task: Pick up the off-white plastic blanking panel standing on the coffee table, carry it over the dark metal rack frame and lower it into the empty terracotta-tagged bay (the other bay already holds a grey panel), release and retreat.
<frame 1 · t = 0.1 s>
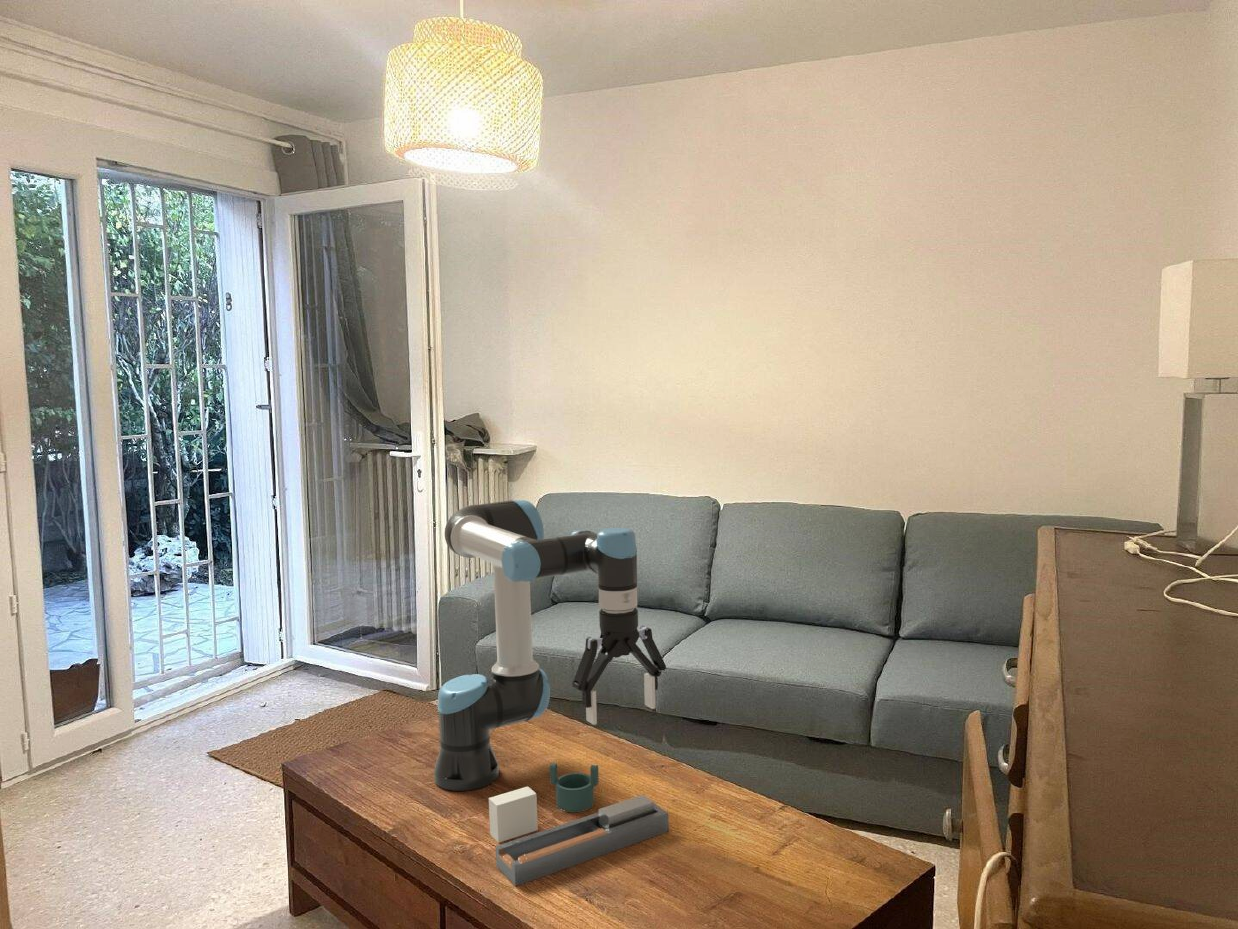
hand: (621, 714, 176), 28 cm above the table, fingers open, 13 cm apart
teal cylindrical holder: (575, 803, 200), on the table
panel: (514, 832, 187), on the table
rack: (585, 848, 180), on the table
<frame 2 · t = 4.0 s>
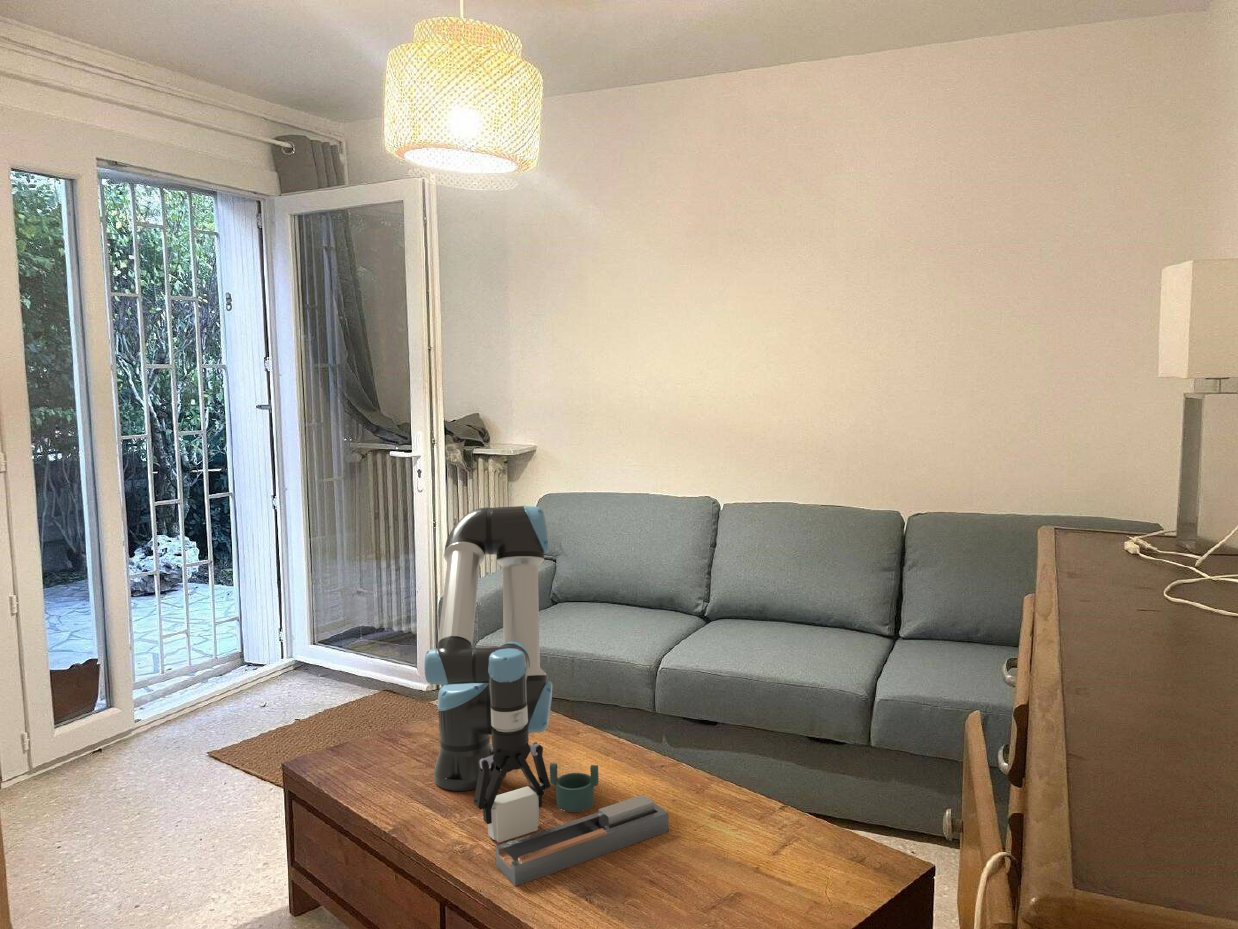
hand: (514, 829, 187), 1 cm above the table, fingers closed on panel, 9 cm apart
panel: (514, 832, 187), on the table, touching gripper
everything else where it was.
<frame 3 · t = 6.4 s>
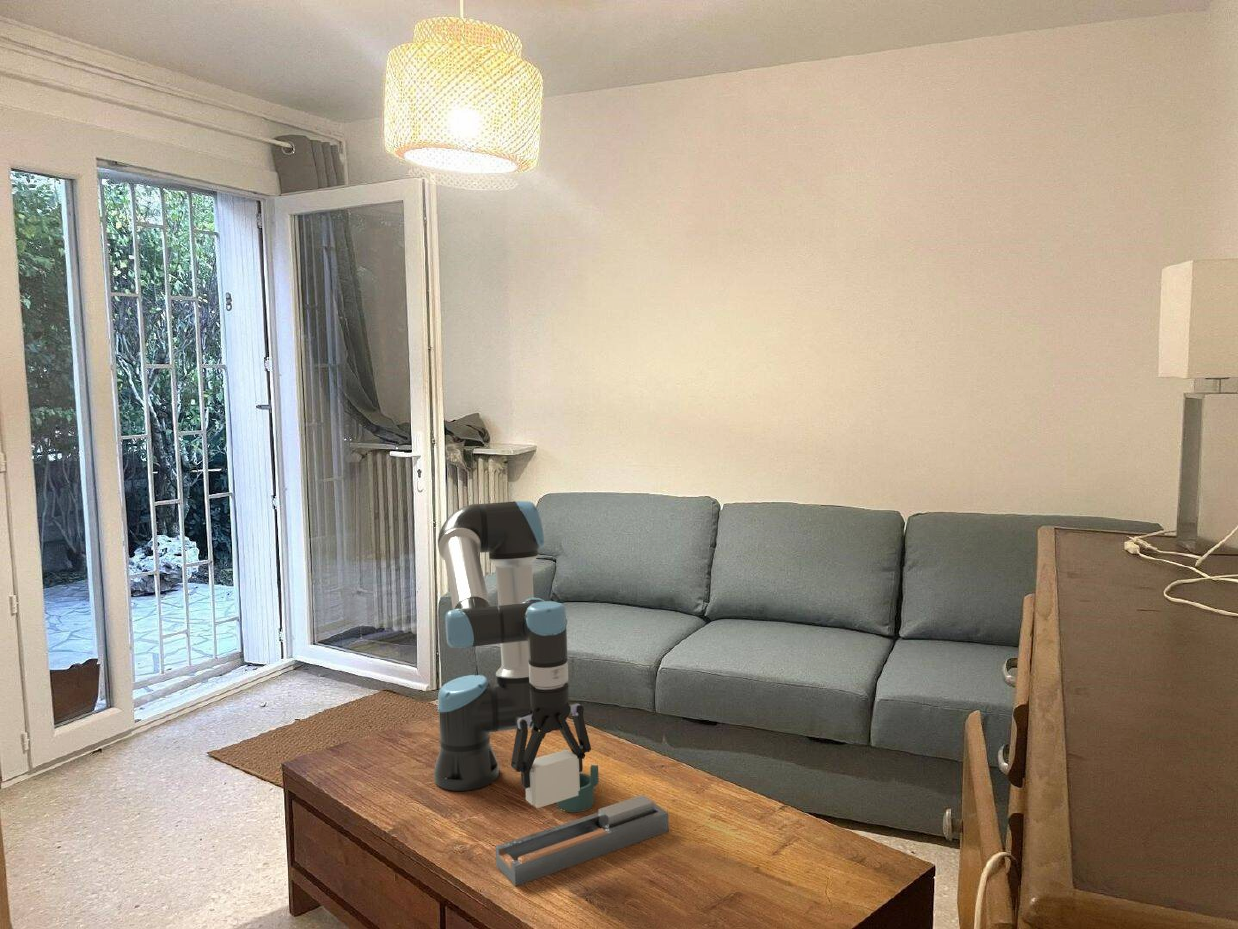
hand: (553, 795, 175), 13 cm above the table, fingers closed on panel, 9 cm apart
panel: (553, 797, 175), point 13 cm above the table, touching gripper
everything else where it was.
when the fingers open (2 cm above the table, at t = 9.1 s): panel drops 2 cm, resting in rack.
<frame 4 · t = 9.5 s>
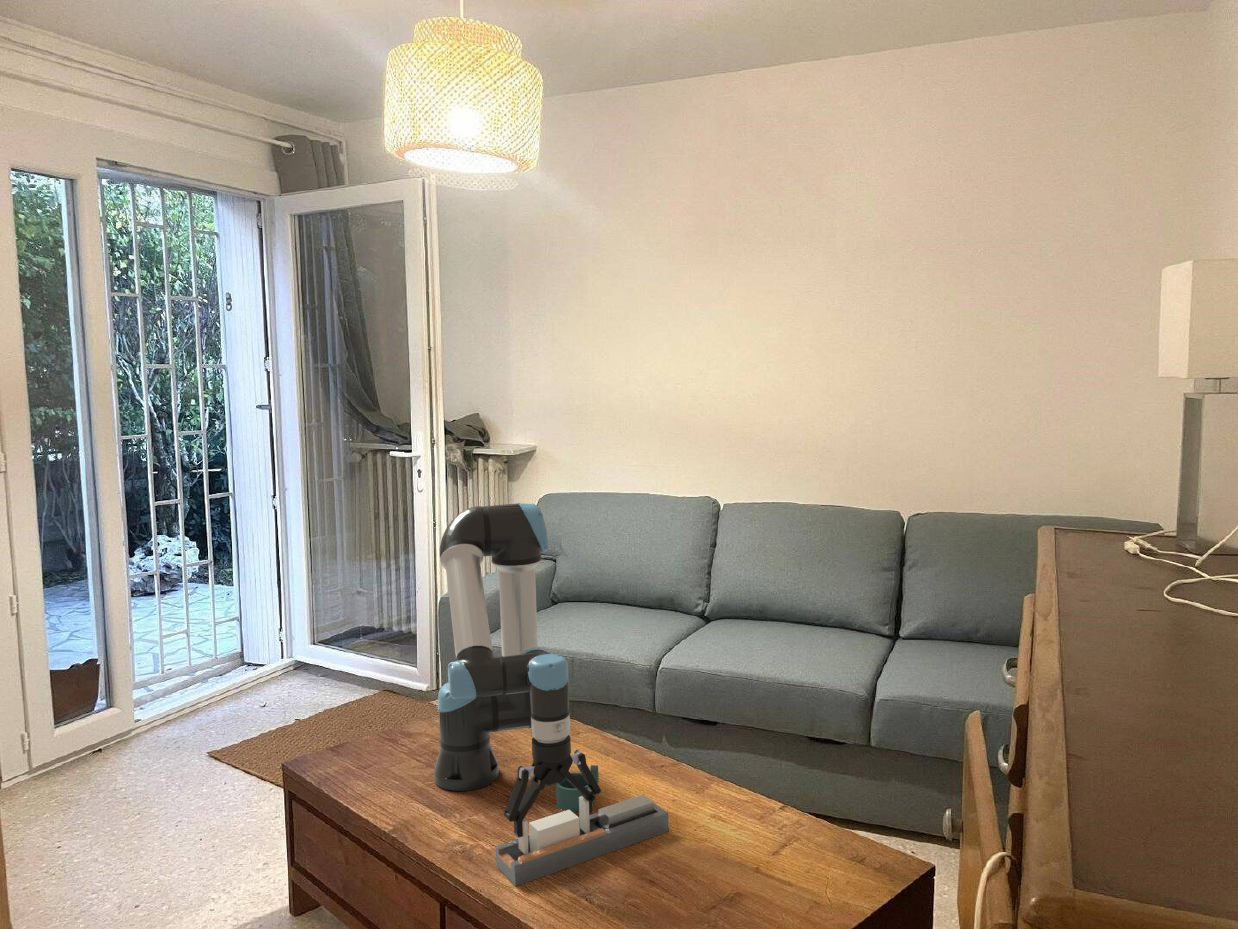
hand: (554, 840, 176), 4 cm above the table, fingers open, 13 cm apart
panel: (555, 859, 177), resting in rack
everything else where it was.
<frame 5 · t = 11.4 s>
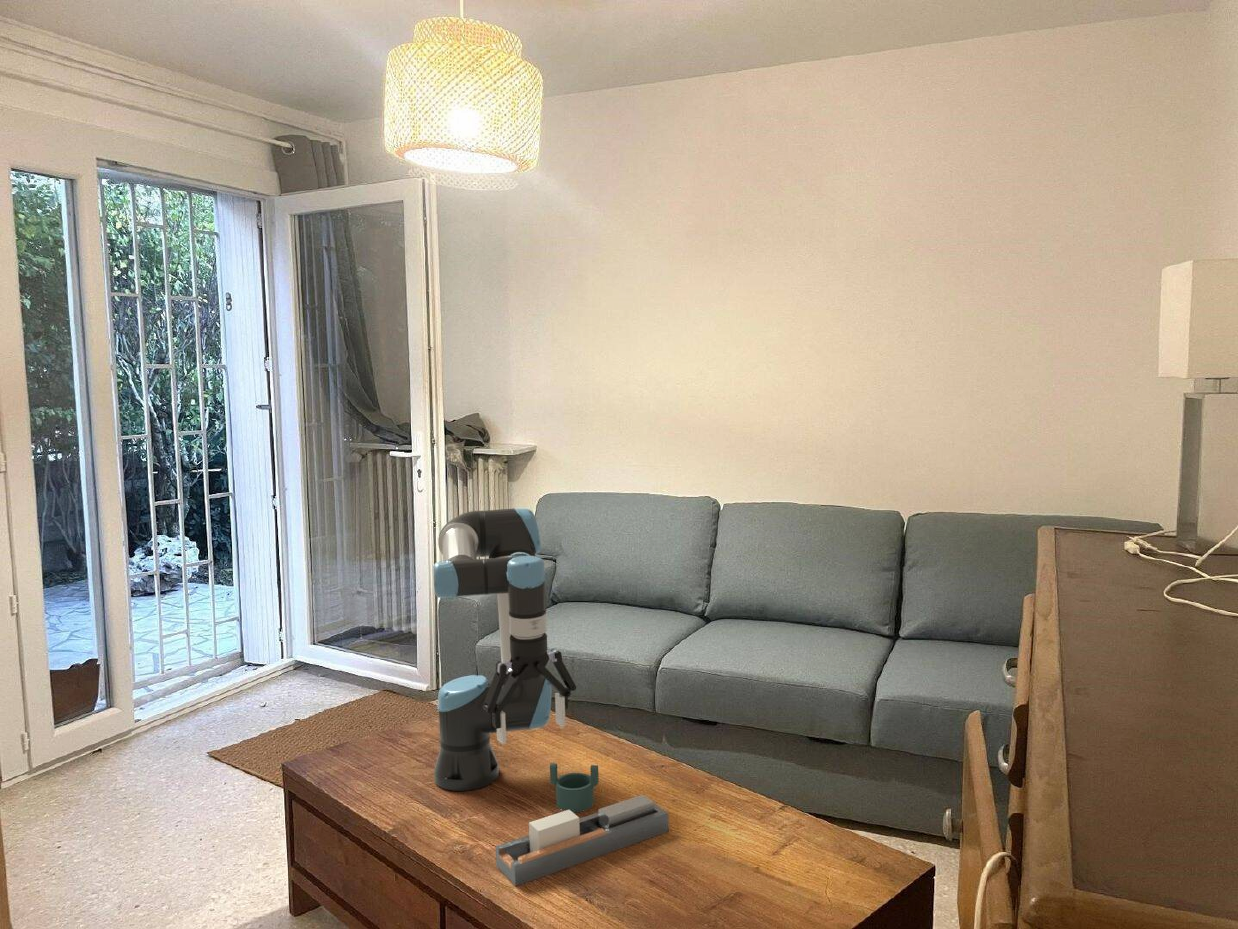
hand: (531, 733, 184), 22 cm above the table, fingers open, 13 cm apart
nothing on the table moved.
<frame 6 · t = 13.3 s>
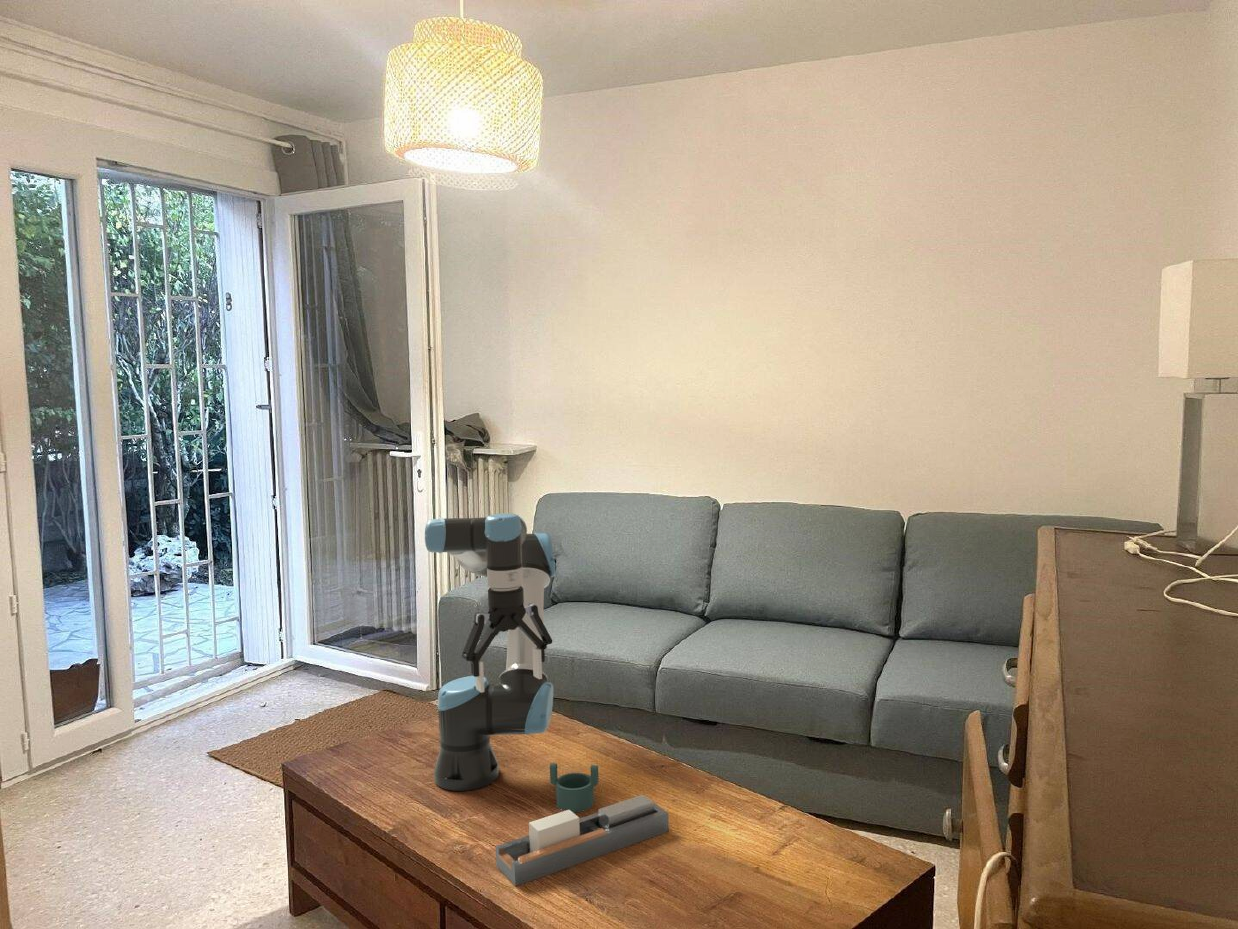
hand: (509, 684, 193), 29 cm above the table, fingers open, 13 cm apart
nothing on the table moved.
at the end: panel inside the target area (0.0 cm from its centre), resting in rack; panel tilted 0°; the gripper is holding nothing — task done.
